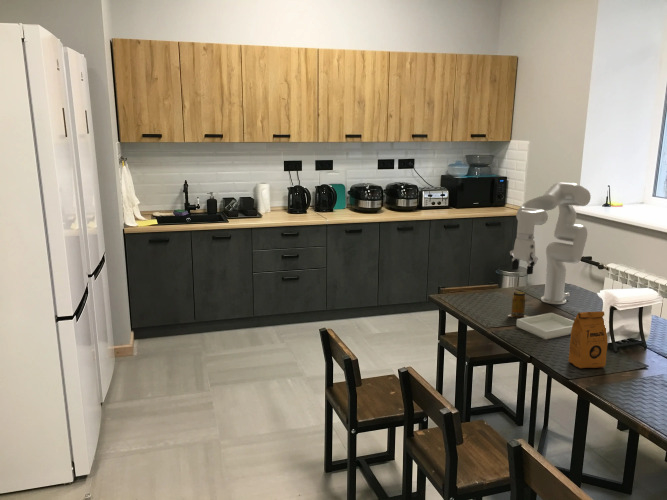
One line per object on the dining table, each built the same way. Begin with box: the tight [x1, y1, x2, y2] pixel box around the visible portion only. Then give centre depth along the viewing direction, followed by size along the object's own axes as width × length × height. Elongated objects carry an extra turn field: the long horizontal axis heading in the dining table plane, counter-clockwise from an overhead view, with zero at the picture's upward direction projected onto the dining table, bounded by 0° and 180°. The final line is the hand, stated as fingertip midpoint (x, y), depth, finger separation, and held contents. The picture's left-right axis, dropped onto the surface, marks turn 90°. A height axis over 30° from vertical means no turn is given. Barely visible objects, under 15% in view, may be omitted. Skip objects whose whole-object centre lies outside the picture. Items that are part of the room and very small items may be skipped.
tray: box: [515, 312, 574, 340], centre depth 260 cm, size 22×18×4 cm
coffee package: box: [568, 311, 609, 369], centre depth 219 cm, size 10×12×22 cm
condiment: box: [507, 290, 531, 320], centre depth 276 cm, size 7×8×12 cm
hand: (522, 271), depth 272 cm, fingers open, 9 cm apart
